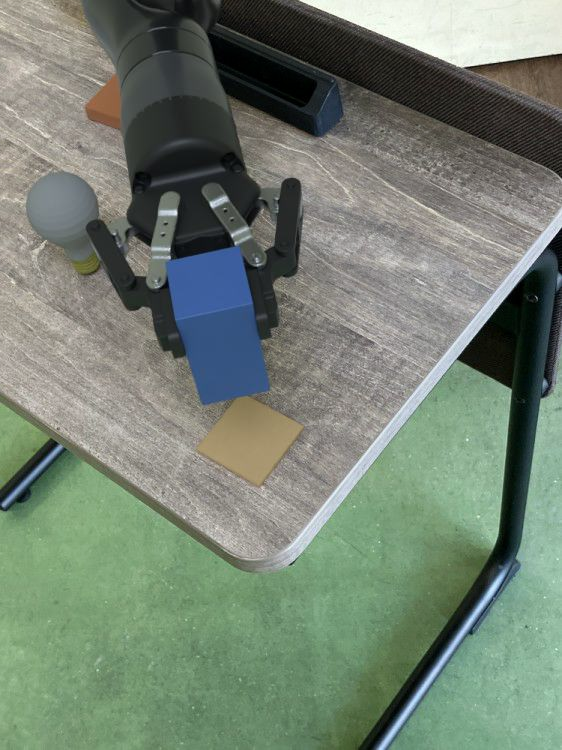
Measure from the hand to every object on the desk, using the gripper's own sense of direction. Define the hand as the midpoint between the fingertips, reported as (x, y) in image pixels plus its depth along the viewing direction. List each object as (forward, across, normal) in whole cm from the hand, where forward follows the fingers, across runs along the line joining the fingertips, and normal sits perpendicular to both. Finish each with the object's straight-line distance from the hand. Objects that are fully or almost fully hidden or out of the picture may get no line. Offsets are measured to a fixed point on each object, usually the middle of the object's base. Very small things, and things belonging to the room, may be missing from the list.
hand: (221, 339), depth 54 cm
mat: (-2, 0, +16) cm, 16 cm away
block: (-3, 0, +7) cm, 8 cm away
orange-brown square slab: (-41, -3, +16) cm, 44 cm away
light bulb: (-22, -10, +16) cm, 29 cm away
